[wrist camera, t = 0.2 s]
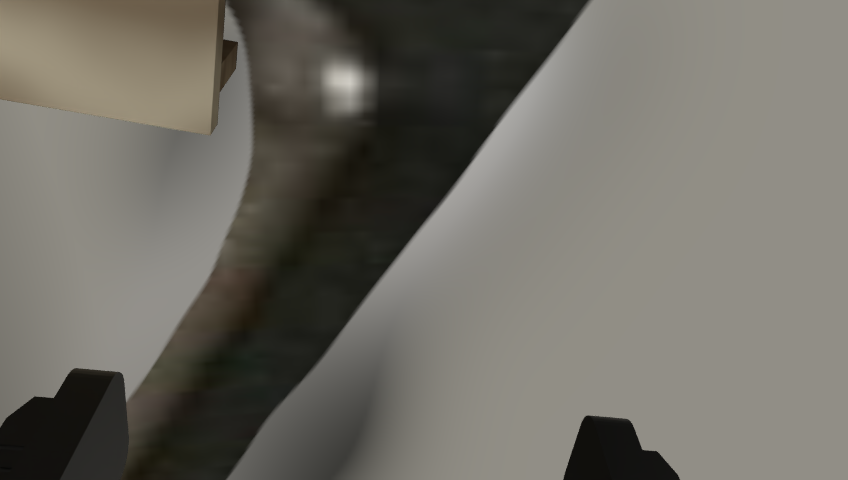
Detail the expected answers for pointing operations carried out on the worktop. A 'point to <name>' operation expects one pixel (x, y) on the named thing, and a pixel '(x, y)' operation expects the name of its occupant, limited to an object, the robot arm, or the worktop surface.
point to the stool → (118, 59)
